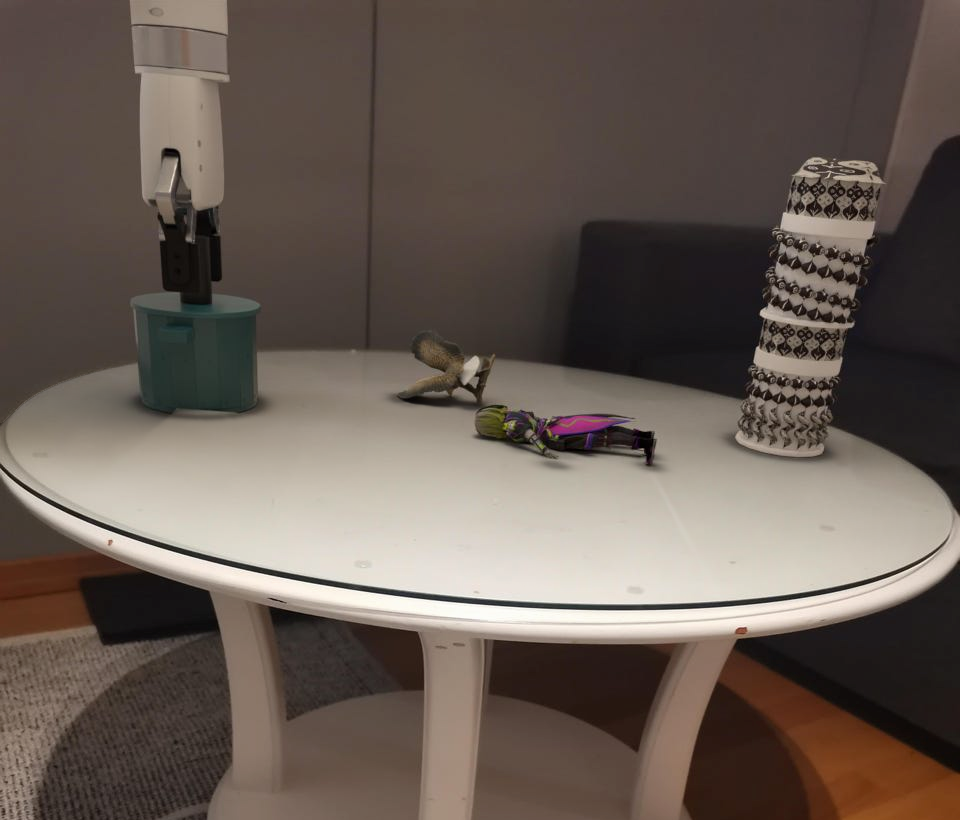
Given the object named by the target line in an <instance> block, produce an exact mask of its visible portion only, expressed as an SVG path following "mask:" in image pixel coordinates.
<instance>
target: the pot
mask: <svg viewBox="0 0 960 820" xmlns="http://www.w3.org/2000/svg"><path fill="white" fill-rule="evenodd" d="M132 309H133V308H132ZM132 311H133V319H134V320H133V322H134V334H135V347H136V348H135V349H136V359H137V371H138V383H139V395H140V397H141V403H142V404H143V405H144V406H146V407H148V408H150V409H153V410H155V411H159V412H162V413H163V412H164V413H168V414H173V413H174V412H175V411H177V409H181V410H183V409H184V410H194V411H195V410H196V411H209V412H210V411H211V412H221V413H222V412H223V413H235V414H236V413H241V412H242V413H243V412H245V411H248V410H251V409H253V408H254V407H256V406H257V404H258V398H259V381H258V380H259V376H258V375H259V374H258V373H259V372H258V336H257V314H256V315H252V316H248V317H241V318H230V319H190V318H176V317H166V316H159V315H153V314H148V313H144V312H140V311H137V310H135V309H133V310H132Z"/></svg>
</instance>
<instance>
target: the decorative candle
mask: <svg viewBox="0 0 960 820" xmlns="http://www.w3.org/2000/svg"><path fill="white" fill-rule="evenodd" d="M789 176H791V177H792V178H791V182H790V188H789V192H788V198H787V201H786V202H787V205H786V208H785V212H783V213H782V216H781V222H780V224H779V225H776V226H774V228H773V229H771V231H770V236H771V237H772V238H773V239H774V240H775V241H776V242H775V243H774V244H772V246H771V247H769V248H768V250H767V253H768V255H769V257H770V258H771V259H772V260H773V262H776V263H774V265H773V266H771V267H769V268H768V270H767V271H765V272H764V279H766V281H767V283H768V285H767V286H765V288H763V289H762V291H761V295H762V298H763V300H764V301H766V302H767V306H766V307H764V308H762V309H761V310H760V312H759V316H760V317H762V318H763V324H762V327H761V331H760V337H759V342H758V346H756V347H755V352H754V357H753V362H752V363H753V365H750V366H749V367H748V369H747V373H748V374H749V376H750V377H751V378H752V379H751V380H750V381H748V382H747V383H746V384H745V385H744V389H745V390H746V393H748V394H749V395H748V397H747V398H745V399H744V400H743V401H742V402H741V404H740V411H741V413H742V415H741V416H740V417H739V418H738V420H737V426H738V428H739V429H740V430H739V431H738V432H737V433H736V434H735V437H734V438H735V440H736V442H737V443H738V444H740V445H742V446H743V447H745V448H748V449H750V450H754V451H756V452H757V451H758V452H760V453H765V454H769V455H775V456H781V457H792V458H809V457H813V458H814V457H816V456H820V455H822V454H823V452H824V450H825V445H824V444H823V443H824V442H825V441H826V439H827V438H828V437H829V435H830V434H829V432H828V428H827V427H828V426H829V425H830V423H831V422H832V421H833V419H834V417H833V415H832V412H831V410H830V408H829V406H831V405H834V403H835V402H837V400H838V397H837V396H836V394H835V392H834V391H833V390H835V389H836V388H837V387H839V386H840V385H841V383H842V379H841V378H840V377H839V376H838V375H839V374H840V371H841V368H842V363H843V359H844V358H843V356H842V353H843V350H844V345H845V343H846V337H847V332H848V329H852V328H853V327H854V326H855V323H856V320H855V319H854V318H853V317H852V316H851V313H853V312H856V311H858V310H860V308H861V307H862V304H861V302H860V301H859V300H858V299H857V296H855V294H856V290H857V289H858V290H860V289H862V288H864V287H866V286H868V284H869V280H868V278H866V277H865V276H864V274H863V273H864V272H865V271H867V270H869V269H871V268H872V267H873V265H874V262H873V259H872V258H870V257H869V254H866V255H865V252H866V248H867V249H868V248H869V247H870V248H872V247H873V246H875V245H877V244H879V243H881V236H880V235H876V234H874V235H873V233H874V230H875V226H876V220H875V215H876V211H877V209H878V204H879V200H880V195H881V191H882V187H883V185H887V183H885V182H884V181H882V179H881V175H880V172H879V169H878V167H877V165H876V163H874V162H872V161H866V160H855V159H844V158H832V157H830V158H829V157H818V156H817V157H811V158H809V159H807V160H806V161H805V162H804V163H803V164H802V166H801V167H800V168H799V170H798V171H797V172H795V174H791V175H789ZM860 272H861V273H860Z"/></svg>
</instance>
